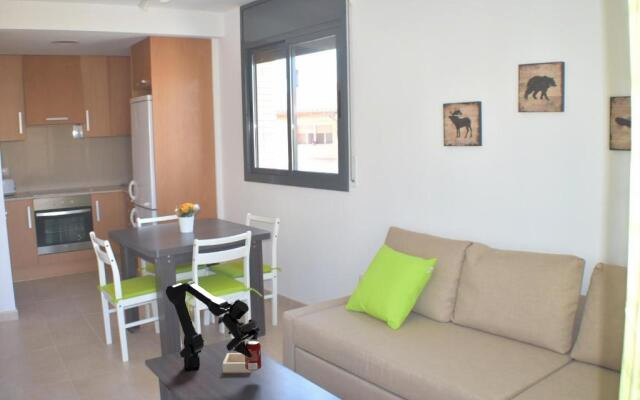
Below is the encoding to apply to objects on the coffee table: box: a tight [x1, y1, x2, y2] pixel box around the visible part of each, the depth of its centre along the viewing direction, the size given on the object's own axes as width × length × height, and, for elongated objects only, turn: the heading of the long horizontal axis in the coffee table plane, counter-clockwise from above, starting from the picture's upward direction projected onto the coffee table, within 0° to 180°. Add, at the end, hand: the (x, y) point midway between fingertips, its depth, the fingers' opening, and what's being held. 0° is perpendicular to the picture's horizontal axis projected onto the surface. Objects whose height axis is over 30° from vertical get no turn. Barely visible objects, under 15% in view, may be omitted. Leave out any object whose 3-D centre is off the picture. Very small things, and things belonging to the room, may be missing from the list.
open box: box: [222, 352, 252, 374], centre depth 265 cm, size 12×12×4 cm
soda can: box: [245, 339, 262, 372], centre depth 249 cm, size 7×7×12 cm
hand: (255, 354), depth 248 cm, fingers closed on soda can, 6 cm apart
